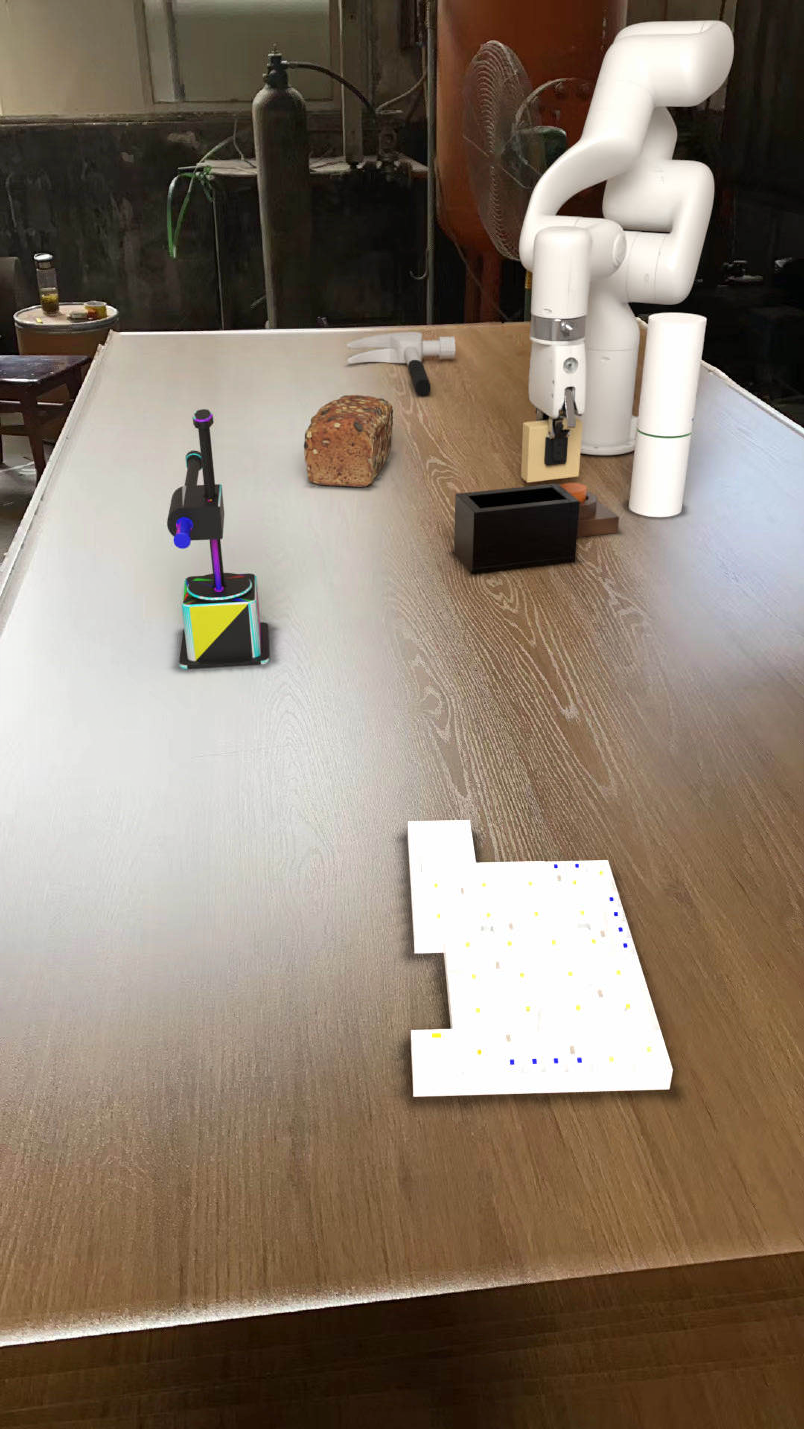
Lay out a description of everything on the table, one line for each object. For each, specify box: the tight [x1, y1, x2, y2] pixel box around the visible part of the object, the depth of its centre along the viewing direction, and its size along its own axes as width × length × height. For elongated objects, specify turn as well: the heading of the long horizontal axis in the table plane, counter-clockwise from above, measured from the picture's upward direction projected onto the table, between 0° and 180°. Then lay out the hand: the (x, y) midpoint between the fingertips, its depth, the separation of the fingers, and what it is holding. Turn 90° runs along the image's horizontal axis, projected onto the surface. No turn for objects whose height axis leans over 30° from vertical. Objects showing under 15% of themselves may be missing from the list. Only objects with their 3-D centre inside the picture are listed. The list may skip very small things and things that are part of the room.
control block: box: [577, 491, 620, 538], centre depth 143 cm, size 10×8×4 cm
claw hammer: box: [347, 331, 457, 397], centre depth 213 cm, size 6×22×30 cm
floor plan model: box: [407, 819, 674, 1098], centre depth 75 cm, size 15×25×2 cm, turn 2°
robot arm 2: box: [166, 408, 270, 670], centre depth 112 cm, size 25×9×24 cm, turn 7°
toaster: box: [453, 482, 580, 575], centre depth 133 cm, size 13×7×8 cm, turn 106°
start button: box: [559, 482, 588, 502], centre depth 142 cm, size 4×4×2 cm
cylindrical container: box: [628, 312, 708, 518], centre depth 143 cm, size 7×7×25 cm
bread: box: [303, 394, 394, 488], centre depth 163 cm, size 19×11×10 cm, turn 170°
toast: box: [520, 417, 583, 483], centre depth 155 cm, size 8×2×8 cm, turn 106°
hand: (550, 459), depth 156 cm, fingers closed on toast, 2 cm apart
